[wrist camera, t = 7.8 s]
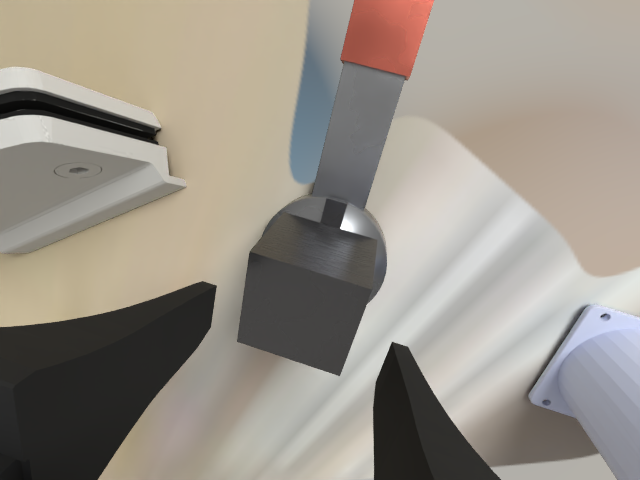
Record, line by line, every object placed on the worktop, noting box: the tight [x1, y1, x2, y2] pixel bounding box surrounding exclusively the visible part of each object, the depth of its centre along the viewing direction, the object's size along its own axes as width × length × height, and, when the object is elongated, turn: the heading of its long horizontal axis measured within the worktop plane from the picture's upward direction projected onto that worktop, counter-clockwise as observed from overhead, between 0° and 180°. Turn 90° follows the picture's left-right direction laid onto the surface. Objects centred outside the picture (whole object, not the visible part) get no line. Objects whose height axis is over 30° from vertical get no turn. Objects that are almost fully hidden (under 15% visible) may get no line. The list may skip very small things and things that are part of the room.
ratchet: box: [262, 0, 434, 304], centre depth 16 cm, size 8×25×5 cm, turn 166°
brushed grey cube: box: [237, 212, 378, 376], centre depth 18 cm, size 6×6×5 cm
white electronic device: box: [0, 67, 186, 254], centre depth 19 cm, size 17×5×10 cm, turn 111°
